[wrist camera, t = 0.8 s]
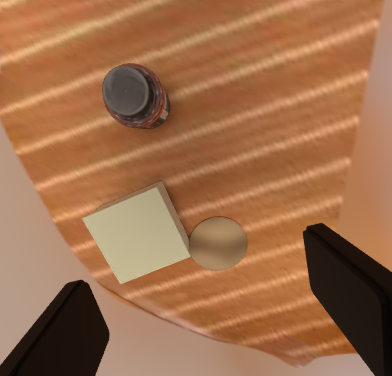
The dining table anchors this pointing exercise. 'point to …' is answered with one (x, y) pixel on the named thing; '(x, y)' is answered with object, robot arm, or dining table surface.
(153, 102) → the supplement bottle
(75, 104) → the dining table surface
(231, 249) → the tan round plate
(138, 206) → the grey-green block
